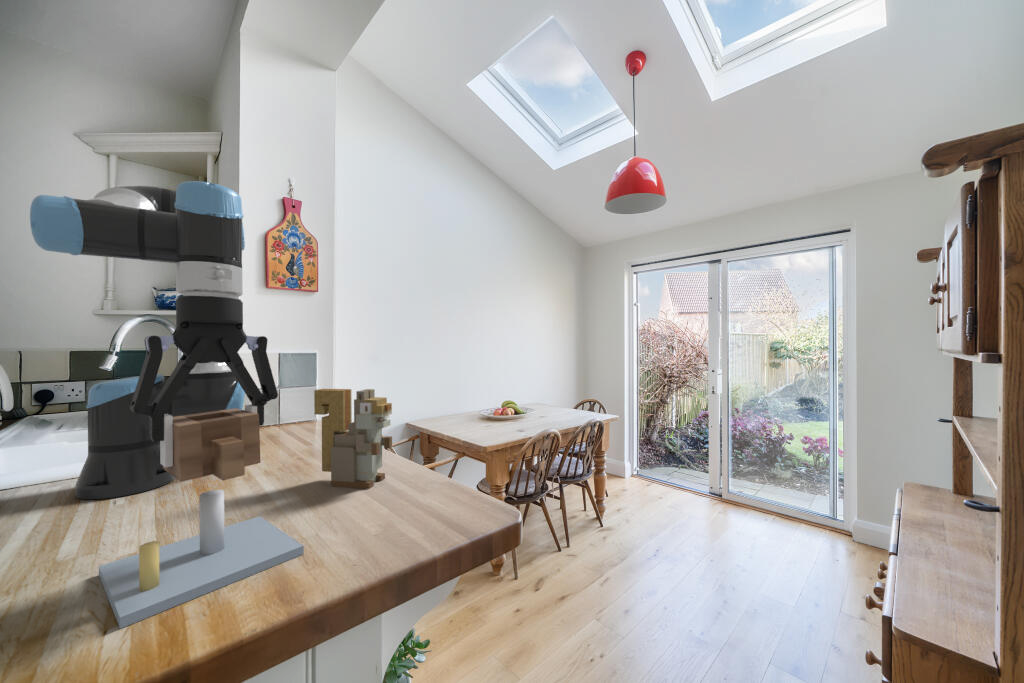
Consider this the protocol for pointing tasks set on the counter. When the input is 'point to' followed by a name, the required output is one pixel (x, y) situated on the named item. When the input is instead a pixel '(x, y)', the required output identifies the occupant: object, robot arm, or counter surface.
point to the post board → (194, 563)
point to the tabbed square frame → (214, 444)
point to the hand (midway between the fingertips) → (211, 456)
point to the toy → (353, 436)
